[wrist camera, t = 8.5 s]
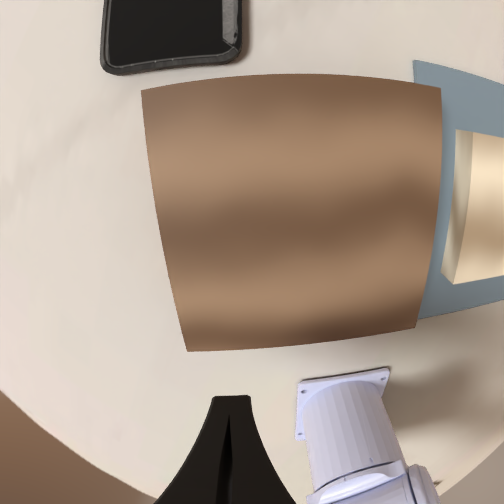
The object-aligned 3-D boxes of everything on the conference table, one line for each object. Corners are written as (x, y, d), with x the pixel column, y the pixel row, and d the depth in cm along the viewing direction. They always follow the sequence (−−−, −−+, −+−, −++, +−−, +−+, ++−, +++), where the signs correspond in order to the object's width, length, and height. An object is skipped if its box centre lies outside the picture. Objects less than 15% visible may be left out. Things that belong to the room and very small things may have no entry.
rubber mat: (506, 296, 21) (508, 298, 20) (395, 319, 21) (397, 322, 20) (533, 98, 13) (536, 98, 13) (412, 60, 13) (415, 59, 13)
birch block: (453, 284, 17) (440, 272, 19) (506, 274, 17) (493, 264, 19) (472, 131, 13) (455, 129, 15) (527, 143, 13) (510, 139, 15)
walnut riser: (394, 298, 20) (414, 327, 17) (194, 316, 20) (187, 351, 17) (408, 90, 14) (440, 87, 11) (161, 95, 14) (140, 90, 11)
